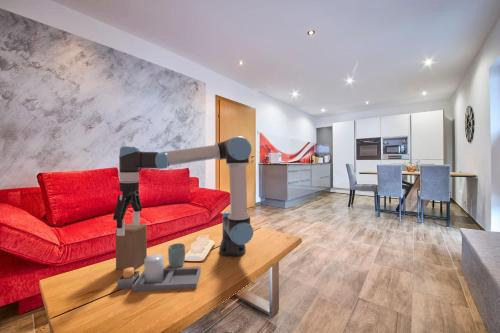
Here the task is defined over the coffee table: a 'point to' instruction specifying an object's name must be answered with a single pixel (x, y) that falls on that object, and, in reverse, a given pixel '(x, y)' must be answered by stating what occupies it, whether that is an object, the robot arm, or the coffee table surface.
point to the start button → (128, 272)
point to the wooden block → (131, 247)
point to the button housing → (127, 281)
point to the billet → (154, 269)
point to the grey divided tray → (171, 280)
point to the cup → (176, 255)
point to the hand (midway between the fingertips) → (128, 230)
